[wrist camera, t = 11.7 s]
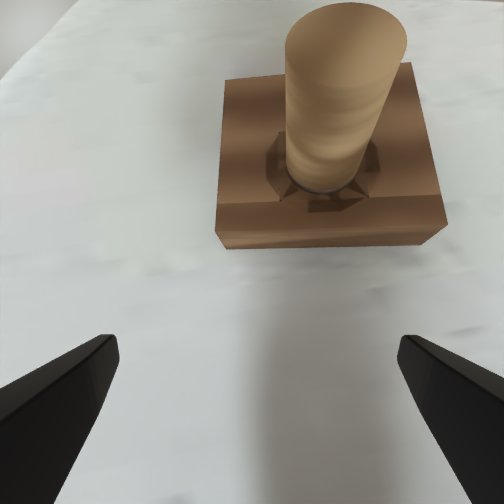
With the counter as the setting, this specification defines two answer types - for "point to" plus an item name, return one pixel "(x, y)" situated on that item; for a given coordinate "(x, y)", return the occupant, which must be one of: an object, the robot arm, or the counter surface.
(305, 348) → the counter surface
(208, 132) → the counter surface
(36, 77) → the counter surface
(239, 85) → the seat block
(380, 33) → the dowel
